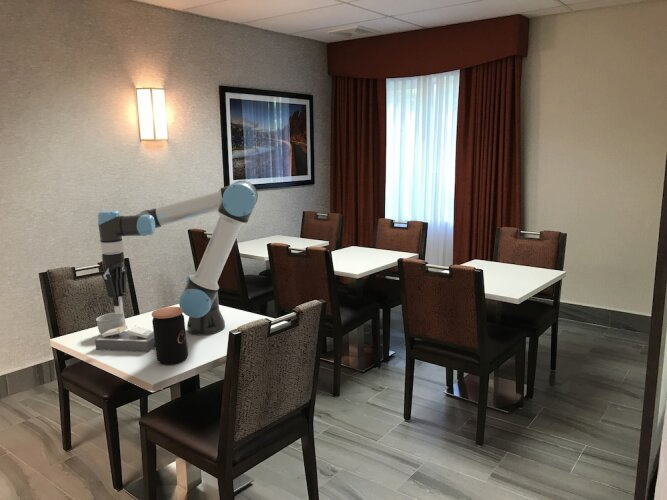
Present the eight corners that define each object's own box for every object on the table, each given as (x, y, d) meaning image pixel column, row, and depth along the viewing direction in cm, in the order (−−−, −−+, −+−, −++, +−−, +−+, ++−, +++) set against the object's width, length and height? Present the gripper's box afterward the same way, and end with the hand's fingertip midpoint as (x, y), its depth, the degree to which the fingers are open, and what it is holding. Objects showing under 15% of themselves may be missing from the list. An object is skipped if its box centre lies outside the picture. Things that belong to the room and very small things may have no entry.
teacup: (116, 339, 216) (114, 320, 215) (92, 338, 219) (90, 319, 217) (136, 327, 230) (133, 309, 228) (113, 327, 232) (110, 309, 230)
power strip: (171, 342, 210) (170, 330, 209) (158, 352, 201) (157, 339, 200) (111, 340, 216) (110, 328, 215) (96, 349, 206) (94, 337, 205)
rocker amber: (128, 328, 210) (126, 324, 210) (120, 332, 205) (119, 329, 205) (110, 332, 212) (109, 329, 212) (102, 337, 207) (101, 333, 207)
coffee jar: (185, 364, 188) (179, 314, 185) (153, 367, 187) (147, 317, 184) (190, 352, 199) (185, 305, 195) (161, 355, 198) (155, 307, 194)
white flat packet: (153, 333, 208) (154, 330, 208) (146, 338, 203) (147, 335, 203) (134, 328, 209) (135, 325, 209) (127, 333, 205) (127, 329, 204)
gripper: (113, 248, 209) (120, 307, 213) (92, 255, 196) (99, 318, 201) (131, 249, 207) (137, 308, 212) (111, 256, 195) (118, 319, 199)
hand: (119, 313), depth 206 cm, fingers closed
